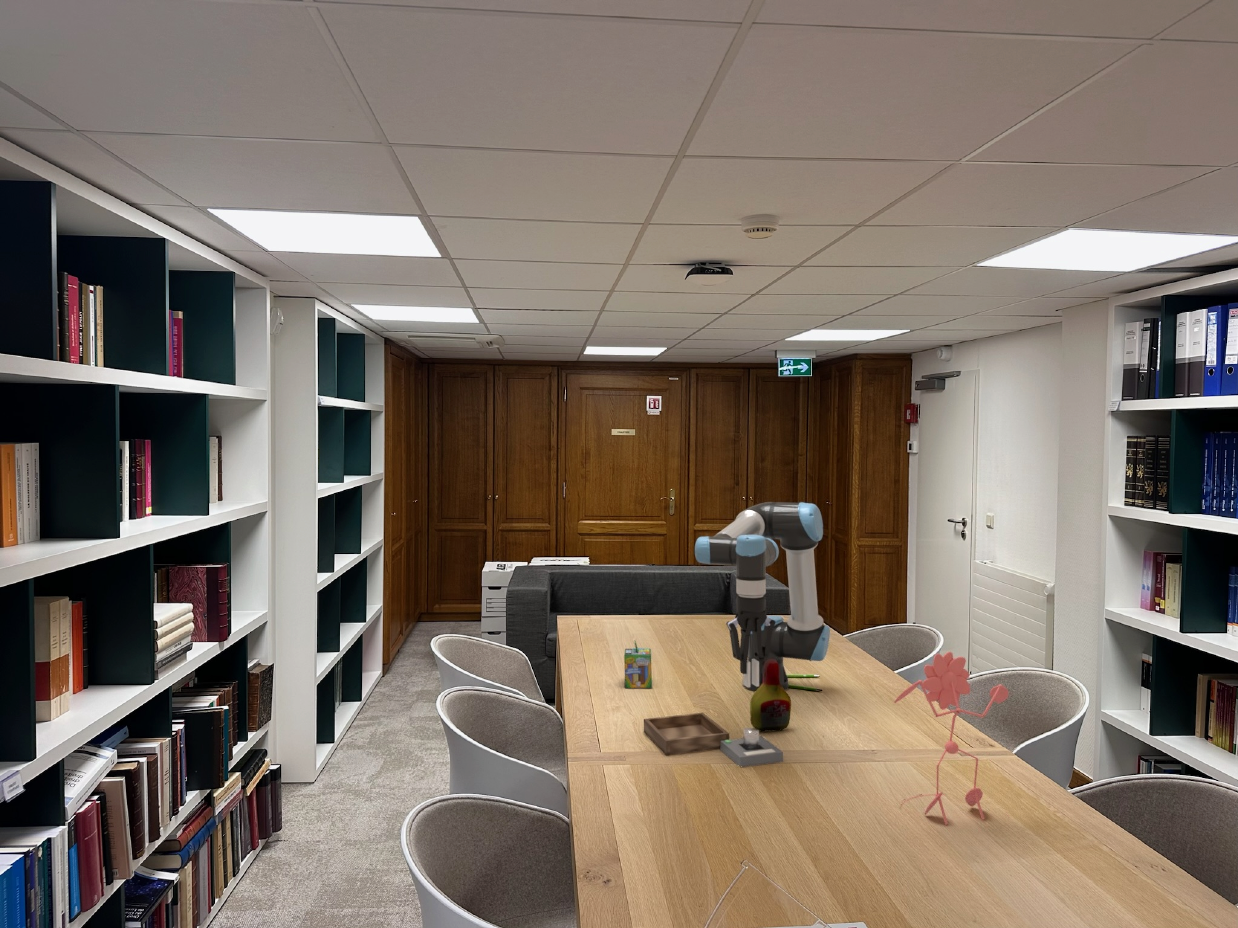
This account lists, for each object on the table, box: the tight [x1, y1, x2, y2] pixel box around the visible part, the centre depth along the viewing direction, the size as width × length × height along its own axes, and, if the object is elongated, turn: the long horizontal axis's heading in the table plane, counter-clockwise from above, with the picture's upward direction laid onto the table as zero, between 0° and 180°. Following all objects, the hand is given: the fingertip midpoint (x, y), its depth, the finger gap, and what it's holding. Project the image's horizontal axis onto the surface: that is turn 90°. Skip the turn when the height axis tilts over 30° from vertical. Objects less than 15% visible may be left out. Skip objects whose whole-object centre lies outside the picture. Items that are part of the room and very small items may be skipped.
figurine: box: [893, 651, 1010, 826], centre depth 179 cm, size 15×26×35 cm, turn 104°
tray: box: [643, 712, 730, 756], centre depth 222 cm, size 18×18×4 cm
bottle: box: [749, 659, 792, 733], centre depth 229 cm, size 12×6×20 cm, turn 94°
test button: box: [742, 727, 760, 750], centre depth 210 cm, size 4×4×4 cm
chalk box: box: [623, 640, 653, 689], centre depth 274 cm, size 9×9×15 cm
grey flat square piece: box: [719, 735, 784, 768], centre depth 210 cm, size 12×12×3 cm
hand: (751, 685), depth 210 cm, fingers open, 2 cm apart
